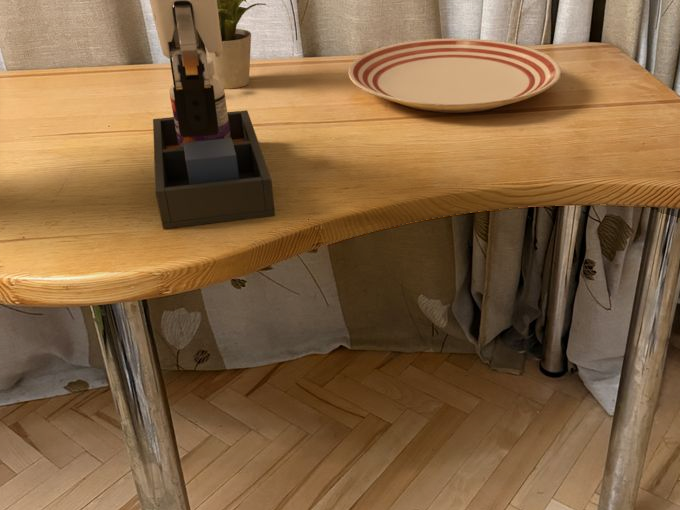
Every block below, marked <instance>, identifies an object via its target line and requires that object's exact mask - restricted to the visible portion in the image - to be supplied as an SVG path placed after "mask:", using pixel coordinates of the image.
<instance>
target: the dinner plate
mask: <svg viewBox="0 0 680 510" xmlns="http://www.w3.org/2000/svg"><path fill="white" fill-rule="evenodd" d="M561 75H562V70H561V67H560V64H559V63H558V62H557V61H556V60H555V59H554V58H553V57H551V56H550V55H548V54H546V53H544V52H542V51H540V50H537V49H535V48H532V47H530V46H529V47H528V46H524V45H521V44H516V43H513V42H512V43H511V42H506V41H499V40H490V39H478V38H430V39H429V38H428V39H418V40H412V41H404V42H400V43H394V44H390V45H385V46H381V47H379V48H376V49H373V50H370V51H369V52H366V53H364V54H362V55H361V56H359V57H357V58H356V59H355V60H354V61H353V62H352V63H351V64H350V66H349V68H348V77H349V79H350V80H351V82H352V83H353V85H355V86H356V87H358V88H359V89H361V90H363V91H364V92H366V93H368V94H369V93H370V94H372V95H374V96H377V97H380V98H382V99H385V100H387V101H391V102H394V103H397V104H399V105H401V106H404V107H409V108H412V109H416V110H421V111H427V112H438V113H456V114H457V113H474V112H482V111H489V110H493V109H498V108H501V107H504V106H507V105H511V104H515V103H518V102H522V101H525V100H527V99H531V98H532V97H534V96H537V95H540V94H541V93H544V92H545V91H547V90H548V89H549V88H551V87H552V86H554V85H556V84H557V82H558V81H559V80H560V79H561Z"/></svg>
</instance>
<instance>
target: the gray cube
mask: <svg viewBox="0 0 680 510" xmlns="http://www.w3.org/2000/svg"><path fill="white" fill-rule="evenodd" d="M184 152H185V160H186V166H187V171H188V177H189V183H190V185H193V184H202V183H211V182H220V181H229V180H238V179H239V173H238V165H237V158H236V153H235V149H234V145H233V142H232V138H226V139H215V140H205V141H195V142H185V143H184Z"/></svg>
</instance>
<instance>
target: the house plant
mask: <svg viewBox="0 0 680 510" xmlns="http://www.w3.org/2000/svg"><path fill="white" fill-rule="evenodd" d="M243 2H245V3H247V0H217V7H218V15H219V24H220V32H221V39H222V47H223V52H222V54H221V55H220V56H219V57H216V55H215V52H212V53H209V52H208V50H207V48H206V47H205V49H206V55H207V57H210V58H212V60H213V65H214V73H215V74H214V76H213V78H214V79H216V80H218V81H219V82H220V83H221V84H222V85H223V87H224V90H225V89H227V90H229V89H231V90H232V89H238V88H242V87H245V86H247V85H249V83H250V69H251V68H250V67H251V50H252V49H251V47H252V46H251V45H252V32H251V31H249V30H246V29H242V28H237V25H238V24H239V22H240V20H241V18H242V17H243V15H244V14H246V12H247V11H248V10H250V9H251V8H253V7H256V6H267V7H269V5H267V3H263V2H262V3H254V4H251V5H249V6H247V7H243V6H241V4H242V3H243Z"/></svg>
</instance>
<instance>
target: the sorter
mask: <svg viewBox="0 0 680 510" xmlns="http://www.w3.org/2000/svg"><path fill="white" fill-rule="evenodd" d="M227 114H228V121H229V128H230V136H231V138H232V142H233V145H234V149H235V153H236V158H237V165H238V173H239V179H238V180H229V181H220V182H211V183H202V184H193V185H190V183H189V177H188V171H187V166H186V160H185V152H184V147H183V148H179V145H178V139H177V133H176V128H175V122H174V116H169V117H161V118H160V117H159V118H153V119H152V130H153V131H152V132H153V133H152V134H153V159H154V160H153V161H154V187H155V189H154V190H155V191H154V192H155V196H156V200H157V206H158V212H159V216H160V221H161V225H162V230H166V229H167V230H168V229H174V228H175V229H176V228H183V227H191V226H200V225H208V224H217V223H224V222H225V223H226V222H232V221H233V222H234V221H241V220H251V219H257V218H266V217H273V216H276V210H275V201H274V191H273V184H272V183H273V182H272V178H271V173H270V172H269V168H268V165H267V163H266V160H265V157H264V154H263V151H262V148H261V146H260V142H259V140H258V136H257V134H256V131H255V128H254V126H253V123H252V119H251V117H250V114H249V111H248V110H236V111H227Z"/></svg>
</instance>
